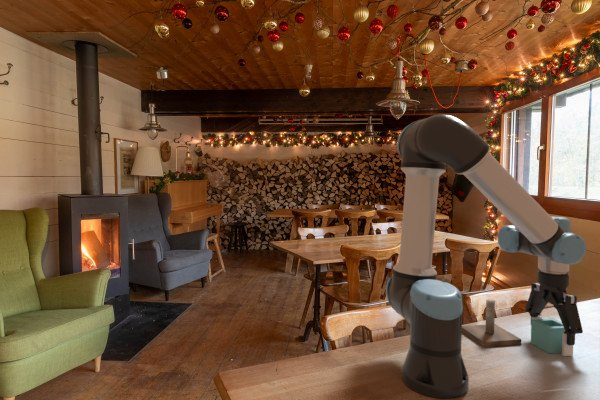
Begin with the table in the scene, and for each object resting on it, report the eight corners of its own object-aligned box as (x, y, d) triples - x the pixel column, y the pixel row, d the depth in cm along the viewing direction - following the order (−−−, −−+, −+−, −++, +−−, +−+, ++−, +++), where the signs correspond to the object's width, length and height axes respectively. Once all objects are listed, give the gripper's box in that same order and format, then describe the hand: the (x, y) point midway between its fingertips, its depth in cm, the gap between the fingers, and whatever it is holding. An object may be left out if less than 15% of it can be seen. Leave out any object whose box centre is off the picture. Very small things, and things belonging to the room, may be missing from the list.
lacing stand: (483, 347, 113) (484, 308, 112) (460, 330, 125) (461, 295, 124) (521, 344, 115) (522, 305, 114) (494, 328, 127) (495, 293, 126)
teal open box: (549, 353, 109) (550, 328, 108) (530, 342, 116) (531, 319, 115) (571, 351, 110) (572, 327, 109) (551, 341, 117) (552, 318, 116)
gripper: (602, 281, 101) (598, 364, 102) (534, 261, 123) (532, 329, 125) (576, 282, 99) (573, 366, 101) (513, 262, 122) (511, 331, 124)
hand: (550, 346), depth 113 cm, fingers open, 11 cm apart
